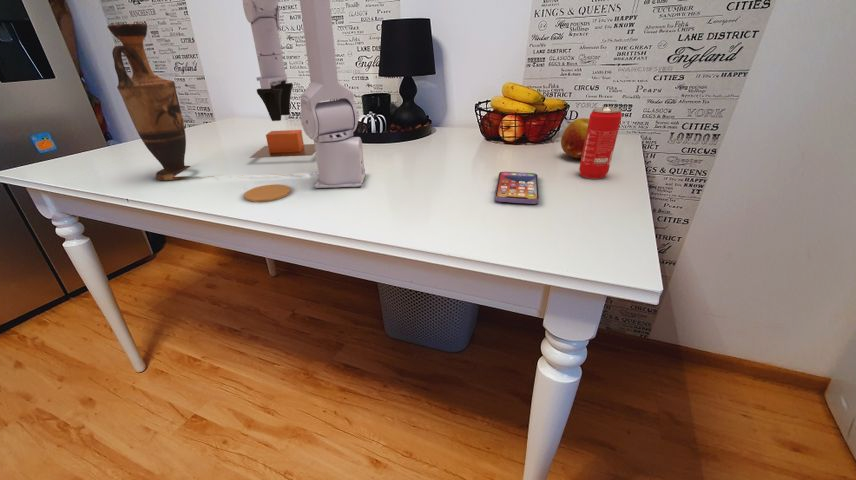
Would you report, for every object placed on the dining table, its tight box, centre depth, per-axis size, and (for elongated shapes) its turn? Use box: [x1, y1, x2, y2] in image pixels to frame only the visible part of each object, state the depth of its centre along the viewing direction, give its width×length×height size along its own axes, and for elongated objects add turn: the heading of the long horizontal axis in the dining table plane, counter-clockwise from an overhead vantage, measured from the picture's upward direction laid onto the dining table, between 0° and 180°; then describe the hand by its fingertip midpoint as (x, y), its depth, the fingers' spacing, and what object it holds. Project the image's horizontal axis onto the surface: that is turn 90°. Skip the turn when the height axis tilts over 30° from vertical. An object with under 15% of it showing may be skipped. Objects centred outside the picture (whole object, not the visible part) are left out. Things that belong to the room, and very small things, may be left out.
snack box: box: [265, 129, 305, 153], centre depth 102 cm, size 8×4×4 cm, turn 86°
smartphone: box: [494, 171, 540, 205], centre depth 73 cm, size 1×7×15 cm
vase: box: [106, 23, 192, 181], centre depth 86 cm, size 11×11×30 cm
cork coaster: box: [243, 184, 292, 203], centre depth 79 cm, size 9×9×1 cm
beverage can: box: [579, 107, 623, 180], centre depth 75 cm, size 5×5×12 cm
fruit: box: [560, 117, 589, 159], centre depth 87 cm, size 10×9×8 cm
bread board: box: [249, 143, 316, 159], centre depth 103 cm, size 16×12×2 cm
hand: (281, 117), depth 99 cm, fingers open, 7 cm apart
